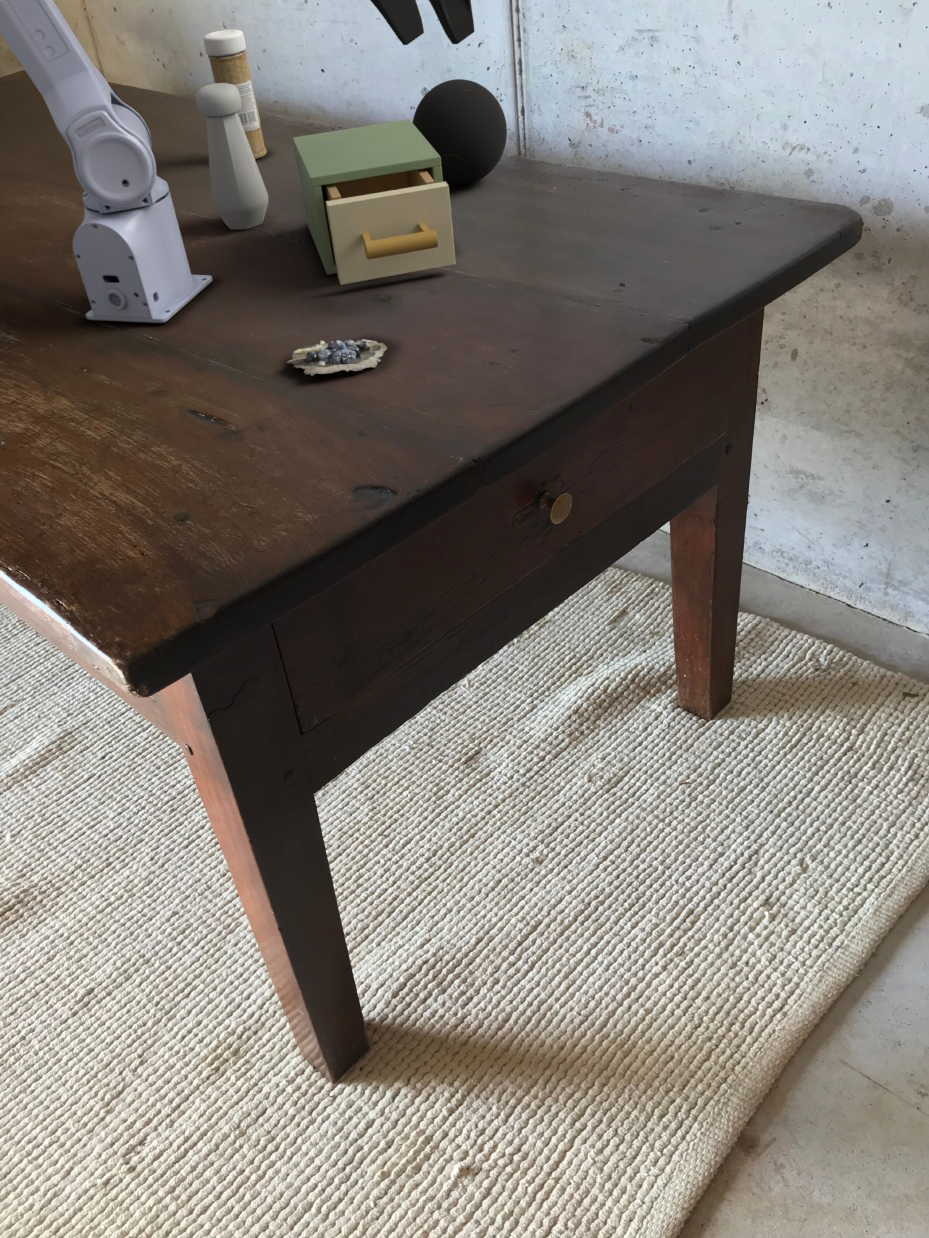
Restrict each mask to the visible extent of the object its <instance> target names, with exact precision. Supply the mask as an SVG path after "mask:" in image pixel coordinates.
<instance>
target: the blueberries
mask: <svg viewBox="0 0 929 1238" xmlns="http://www.w3.org/2000/svg"><path fill="white" fill-rule="evenodd" d="M387 350H388V347H387V345H385V344H384V342H380V343H379V342H378V341H377V340H369V339H364V338H362V339H361V340H359V339H357V341H354V340H352V339H350V338H349V339H348V338H347V339H345V340H344V341H341V340H340V339H335V340H330V341H329V342H328V343H326V342H325V340H324V339H323V340H321V339H320V342H319V343H317V344H316V343H314V344H312V345H305V346H301V347H299V348H297V349H296V350H293V352H292V353H291V354H292V355H290V357H289V359H288V360H287V361H286V363H287V364H292V365H293V368H296V369H299V368H301V369H303V370H304V371H303V373H304V374H305V375H310V376H311V377H313V376H314V375H316V374H319V375H327V374H333V373H337V372H340V371H346V372H349V371H353V372H355V371H356V372H358V371H363V369H364V370H365V369H366V368H367V369H369V368H374V369H375V368H377V366H378V363H380V362H381V361H382V359H381V357H384V354H385V352H386V351H387Z"/></svg>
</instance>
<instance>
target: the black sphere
mask: <svg viewBox="0 0 929 1238" xmlns="http://www.w3.org/2000/svg"><path fill="white" fill-rule="evenodd" d="M412 123H413V124H414V125H415V127H416V128H417V129H418V130H419V131H420V133H421V134H422V135H423V136H424V137H425V139H426V140H427V141H428V142H429V143H430V145H431V146H432V147H433V148H434V150H435V151H436V152H437V153H438V154H439V156H440V157H441V167H442V177H443V182H446V183H447V184H449V185H450V184H451V185H457V186H458V185H460V186H461V185H469V184H473V183H476V182H478V181H480V180H482V179H484V178H485V177H487V175H489V174H490V173H491V172H492V171H493V170H494V169H495V168H496V166H498V164H499V162H500V161H501V158H502V156H503V154H504V152H505V148H506V145H507V137H508V127H507V126H508V125H507V120H506V116H505V113H504V110H503V107H502V105H501V104H500V102H499V100H498V99H497V97H496V96H495V95H494V94H493V93H492V92H491V91H490V90H489V89H487V88H486V87H485V86H484V85H481V84H480V83H479V82H475V81H473V80H471V79H470V80H469V79H464V78H456V79H455V78H454V79H449V80H446V81H443V82H441V83H438V84H437V85H435V86H434V87H432V88H431V89H429V90H428V91H427V93H425V95H424V96H423V97H422V98H421V100H420V101H419V103H418V104H417V106H416V108H415V112H414V115H413V118H412Z"/></svg>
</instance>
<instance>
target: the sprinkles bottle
mask: <svg viewBox="0 0 929 1238" xmlns="http://www.w3.org/2000/svg"><path fill="white" fill-rule="evenodd" d="M203 44H204V49H205V53H206V55H207V58H208V59H209V60H208V61H209V63H210V68H211V73H212V77H213V84H215V83H228V84H232V85H234V86H235V87H237V89H238V92H239V94H240V97H241V104H242V107H241V109H240V110H239V111H238V112H237V113H238V115H239V118H240V121H241V123H242V126H243V129H244V132H245V134H246V137H247V140H248V142H249V145H250V148H251V150H252V153H253V156H254V158H255V160H258V159H261V158H263V157H264V156H265V155H267V147H266V146H265V142H264V135H263V132H262V126H261V118H260V114H259V108H258V103H257V99H256V96H255V92H254V91H255V90H254V86H253V82H252V78H251V72H250V68H249V63H248V59H247V50H246V49H247V46H246V40H245V36H244V32H243V31H242V30H239V29H221V30H217V31H213V32H210V33H207V34H205V35H204V36H203Z"/></svg>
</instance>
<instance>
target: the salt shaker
mask: <svg viewBox="0 0 929 1238" xmlns="http://www.w3.org/2000/svg"><path fill="white" fill-rule="evenodd" d="M214 83H215V82H214ZM214 83H211V84H207V85H204V86H202V87H201V88H199V89H197V91H196V93H195V102H196V106H197V110H198V113H199V114H200V115H201V116H204V117H205V123H206V137H207V152H208V166H209V168H208V169H209V181H210V182H209V183H210V196H211V197H210V198H211V204H212V207H213V210H214V211H215V213H216V214H217V215H218V216H219V217H220V219H221V220H222V222H223V223H224V225H226V227H227V228H229V229H230V230H248V229H251V228H254V227H255V228H256V227H257V226H261V225H263V222H264V220H265V216H266V213H267V209H268V204H269V194H268V190H267V188H266V186H265V182H264V180H263V177H262V174H261V172H260V169H259V167H258V164H257V161H256V159H255V158H254V156H253V153H252V150H251V148H250V145H249V142H248V140H247V137H246V134H245V132H244V129H243V126H242V123H241V121H240V118H239V115H238V113H237V112H238V111H239V110H240V109H241V107H242V104H241V97H240V94H239V92H238V89H237V87H235V86H234V85H232V84H228V83H215V84H214Z"/></svg>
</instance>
